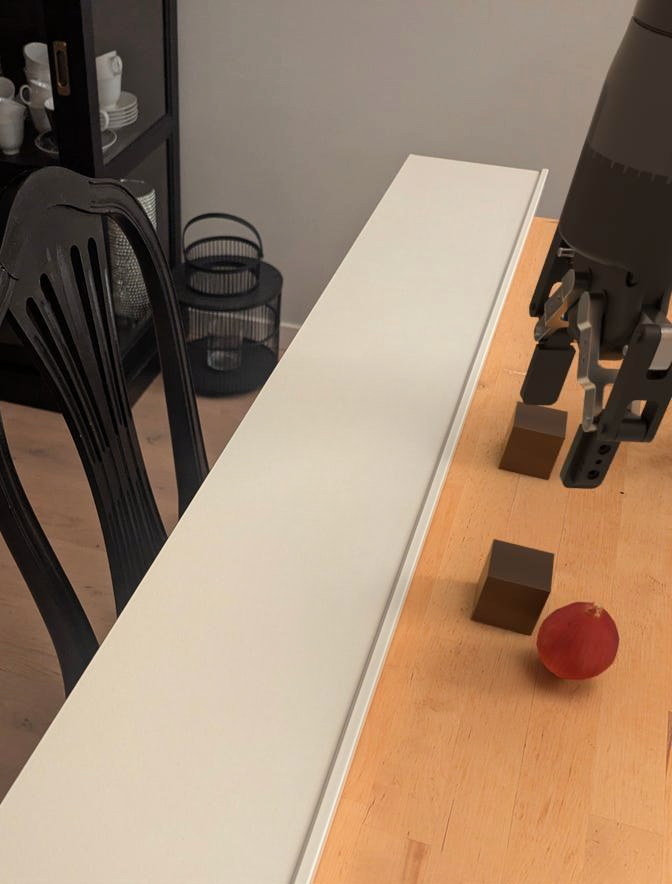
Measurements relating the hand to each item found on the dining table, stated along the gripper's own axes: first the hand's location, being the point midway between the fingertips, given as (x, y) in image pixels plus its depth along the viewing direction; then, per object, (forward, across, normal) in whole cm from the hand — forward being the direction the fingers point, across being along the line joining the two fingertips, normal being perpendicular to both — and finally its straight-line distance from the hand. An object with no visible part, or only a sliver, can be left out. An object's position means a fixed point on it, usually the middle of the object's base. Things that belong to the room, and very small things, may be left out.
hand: (556, 441), depth 54 cm
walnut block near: (+23, +10, -6) cm, 26 cm away
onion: (+24, +3, -9) cm, 25 cm away
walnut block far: (+24, +32, -14) cm, 42 cm away
